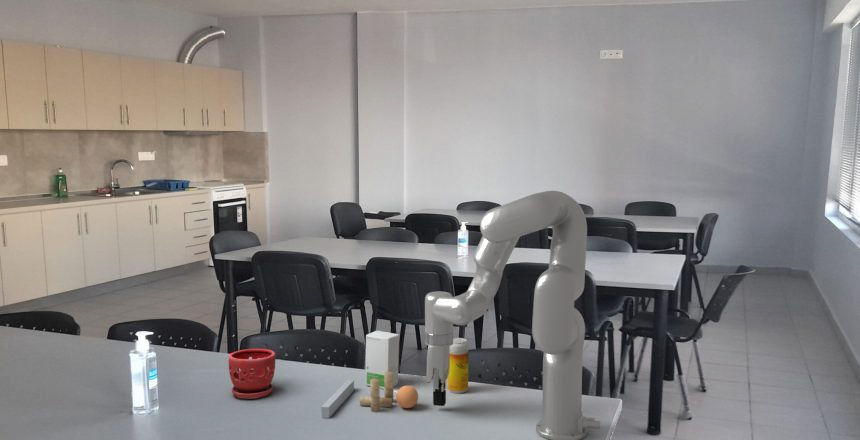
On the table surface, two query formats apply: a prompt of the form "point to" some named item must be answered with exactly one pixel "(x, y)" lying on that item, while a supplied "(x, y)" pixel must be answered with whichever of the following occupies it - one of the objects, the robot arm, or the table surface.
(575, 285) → the robot arm
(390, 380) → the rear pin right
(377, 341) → the skincare box
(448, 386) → the yellow canister
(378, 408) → the rear pin left
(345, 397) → the back rail
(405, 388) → the ball
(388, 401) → the front pin
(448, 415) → the table surface
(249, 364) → the plant pot
